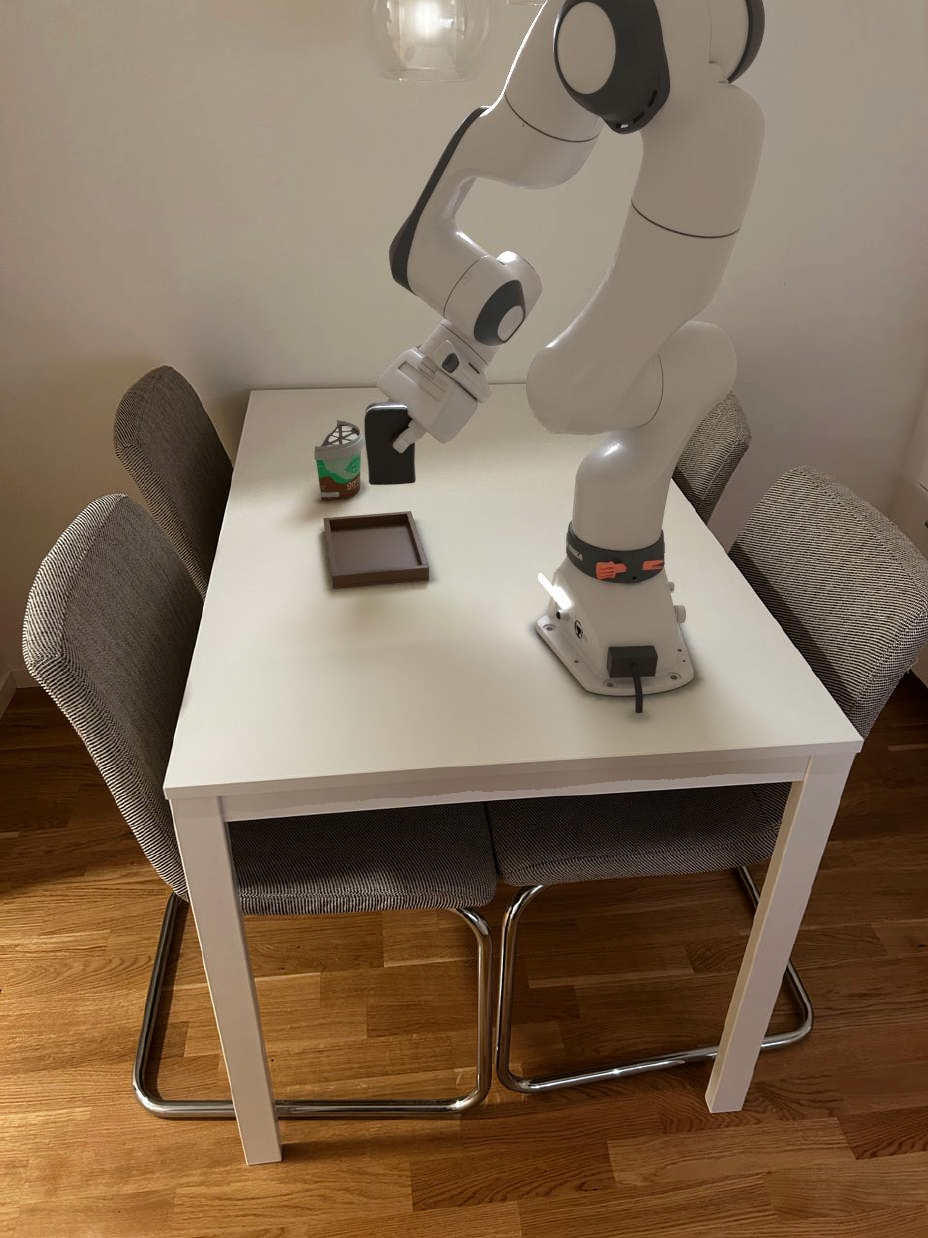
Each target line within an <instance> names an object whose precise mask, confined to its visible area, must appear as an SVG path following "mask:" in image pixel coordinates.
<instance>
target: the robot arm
mask: <svg viewBox="0 0 928 1238" xmlns="http://www.w3.org/2000/svg"><path fill="white" fill-rule="evenodd" d="M765 13H766V12H765V5H764V1H763V0H546V2H544V4H543V5H542V7H541V9H540V11H538V14H537V16H536V17H535V19H534V21H533V23H532V24H531V26H530V28H529V30H528V32H527V34H526V36H525V38H524V39H523V41H522V44H521V46H520V48H519V50H518V52H517V54H516V57H515V60H514V62H513V64H512V66H511V69H510V72H509V74H508V77H507V79H506V82H505V85H504V88H503V90H502V92H501V95H500V96H499V98H498V99H497V101H496V102H495V103H494V104H493V105H492V106H490V105H481V106H480V107H477V108H476V109H474V110H473V111H472V112H470V114H468V115H467V116H466V117H465V118H464V120H462V122H461V123H460V125H459V126H458V127H457V129H456V130H455V131H454V133H453V135H452V137H451V138H450V140H449V141H448V142H447V145H446V147H444V150H443V152H442V154H441V156H440V158H439V159H438V160H437V163H436V165H435V167H434V169H433V170H432V172H431V174H430V177H429V178H428V180H427V182H426V184H425V186H424V188H423V189H422V191H421V194H420V196H419V198H417V201H416V203H415V205H414V207H413V209H412V210H411V212H410V214H409V215H408V216H407V218H405V221H404V222H403V224H402V225H401V226H400V228H399V229H398V231H397V232H396V234H395V236H394V237H393V239H392V241H391V243H390V245H389V249H388V261H389V267H390V273H391V276H392V279H393V280H394V282H395V283H396V284H398V285H400V286H401V287H402V288H403V289H405V290H407V291H408V292H410V293H411V294H413V295H414V296H416V297H418V299H421V301H423V302H424V303H425V304H426V305H428V306H429V307H430V308H431V309H433V310H434V311H435V312H436V313H437V314H439V316H441V317H442V318H444V319H442V320H441V321H440V322H439V323H438V324H437V326H436V327H435V329H433V331H432V332H431V333H430V334H429V336H428V337H427V338H426V339H425V340H424V342H423V343H421V344H419V345H417V346H413V347H411V349H407V350H405V351H403V352H402V353H401V354H400V355H398V357H396V359H395V360H394V361H393V362H391V364H390V365H389V366H388V367H387V368H386V370H384V372H383V373H382V374H381V375H380V376H379V378H378V380H377V383H376V388H377V389H378V390H379V391H380V392H381V393H382V394H384V395H385V396H386V397H387V398H388V399H387V400H386V402H402V403H403V404H404V405H405V406H406V407H407V409H408V415H409V416H410V417H411V418H412V419H413V420H412V421H411V422H410V423H409V425H408V427H409V428H408V429H407V430H405V431H404V432H403V433H402V434H400V435H398V434H396V435H395V437H394V439H392V440H391V442H390V444H391V445H392V446H393V447H394V448H395V449H396V450H397V451H398V452H400V453H403V452H404V451H405V449H406V448H407V447H408V446H409V445H410V444H412V443H414V442H415V443H416V442H417V441H418V440H420V439H423V437H424V436H425V435H426V433H428V434H429V435H431V436H432V437H433V438H434V439H435V440H436V441H438V442H439V443H440V444H442V445H444V444H445V445H446V444H447V443H449V442H451V441H453V440H454V439H455V438H456V437H457V436H458V435H459V434H460V432H461V431H462V430H463V429H464V428H465V427H466V425H467V424H468V423H469V422H470V421H471V419H472V418H473V417H474V415H475V414H476V412H477V410H478V407H479V404H480V405H481V404H485V403H487V401H488V400H489V399H490V398H491V396H492V389H491V387H490V385H489V383H488V379H487V377H486V373H485V371H486V370H487V369H488V367H489V366H490V365H491V363H492V361H493V359H494V357H495V355H496V354H497V353H498V351H499V350H500V349H501V348H502V347H503V346H505V345H506V344H508V343H509V342H510V341H511V339H512V338H513V337H514V336H515V334H516V333H517V332H518V331H519V330H520V328H521V327H522V325H523V323H524V322H525V321H526V320H527V318H528V317H529V315H530V313H531V312H532V310H534V309H533V308H535V306H536V304H537V302H538V300H539V299H540V297H541V294H542V292H543V283H542V281H541V278H540V276H539V274H538V273H537V272H536V270H535V268H534V267H533V266H532V265H531V264H530V263H529V262H528V261H527V260H526V259H524V258H523V257H522V256H520V255H519V254H517V253H516V252H515V253H514V252H511V251H504V252H502V253H501V254H499V255H498V256H497V257H496V258H495V257H494V256H493V255H491V254H490V253H488V252H487V251H486V250H485V249H483V248H482V247H481V246H480V245H478V244H477V243H476V242H475V241H474V240H473V239H471V238H470V237H469V236H467V235H466V234H465V233H464V232H463V230H462V229H461V228H460V226H459V224H458V223H457V220H456V215H457V213H458V211H459V209H460V208H461V206H462V204H463V202H464V201H465V199H466V197H467V195H468V194H469V192H470V190H471V189H472V188H473V185H474V183H475V182H476V180H477V178H481V179H486V180H491V181H495V182H498V183H501V184H504V185H507V186H510V187H512V188H516V189H523V190H533V191H534V190H545V189H550V188H554V187H555V188H556V187H557V186H560V185H562V184H564V183H566V182H568V181H569V180H570V179H572V178H573V177H575V176H576V175H577V174H578V173H579V172H580V170H581V169H582V168H583V166H584V165H585V164H586V162H587V160H588V159H589V157H590V155H591V153H592V151H593V150H594V148H595V145H596V143H597V142H598V139H599V137H600V135H601V134H602V133H601V132H602V130H603V128H604V125H605V124H606V125H607V127H609V129H610V130H611V131H612V132H614V133H617V134H619V135H628V134H629V135H630V134H633V133H635V132H636V133H637V132H638V131H639V133H640V136H641V141H642V154H641V155H642V156H641V160H640V165H639V169H638V172H637V176H636V179H635V183H634V186H633V189H632V193H631V196H630V200H629V204H628V208H627V210H626V213H625V218H624V221H623V224H622V229H621V231H620V235H619V238H618V240H617V245H616V247H615V250H614V253H613V256H612V259H611V261H610V262H611V263H610V265H609V266H608V269H607V271H606V273H605V276H604V277H603V279H602V281H601V282H600V284H599V286H598V288H597V289H596V290H595V292H594V294H593V295H592V297H591V298H590V300H589V301H588V302H587V304H586V305H585V306H584V308H583V309H582V311H581V312H580V313H579V314H578V316H577V317H576V318H575V319H573V321H572V322H571V324H570V325H569V326H567V328H565V329H564V330H563V331H562V333H560V334H559V335H558V336H557V337H555V338H554V339H553V340H552V341H550V342H549V343H548V344H546V345H545V346H543V347H541V348H540V349H539V350H538V351H537V352H536V353H535V355H534V356H533V358H532V360H531V362H530V365H529V367H528V371H527V375H526V378H525V379H526V380H525V394H526V399H527V404H528V407H529V409H530V411H531V413H532V415H533V417H534V419H535V420H536V421H537V422H538V424H539V425H540V426H541V427H542V428H543V429H544V430H546V431H547V432H548V433H550V434H553V435H562V436H585V437H586V436H590V437H591V436H597V435H602V434H606V433H607V434H606V435H605V437H604V438H603V439H602V441H600V443H598V445H597V446H596V447H594V448H592V450H591V451H589V452H588V453H587V455H585V456H584V458H583V459H582V460H581V462H580V463H579V465H578V468H577V469H576V473H575V478H574V479H575V480H574V491H573V501H572V502H573V504H572V505H573V506H572V515H571V517H572V518H571V520H570V522H569V523H568V527H567V532H566V537H565V543H566V544H565V545H566V546H565V553H566V556H565V558H564V560H563V561H562V562H561V564H560V565H559V566H558V567H557V568H556V569H555V571H554V572H553V575H552V580H551V583H550V582H549V581H548V579H547V578H546V577H545V576H544V575H543V574H542V573H538V581H539V582H540V583H541V584H542V585H543V587H544V588H545V590H547V591H548V593H549V594H550V596H549V603H548V610H547V614H545V615H544V616H542V617H541V618H539V619H538V620H537V622H536V626H535V630H536V632H537V633H538V635H539V636H540V637H541V638H542V639H543V641H544V642H545V643H546V644H547V645H548V646H549V648H550V649H551V651H552V652H553V653H554V654H555V655H556V656H557V658H558V659H559V660H560V662H562V663H563V665H564V666H565V667H566V668H567V670H568V671H569V672H570V673H571V674H572V676H573V677H574V678H575V679H576V680H577V682H578V683H579V684H580V685H581V687H582V688H583V689H584V690H586V691H587V692H589V693H593V694H599V695H603V696H604V695H605V696H616V697H624V696H626V697H627V696H629V697H630V696H635V697H634V698H635V701H634V702H635V703H634V704H635V705H634V706H635V707H634V709H635V710H634V712H635V714H643V713H644V695H649V694H658V693H662V692H667V691H671V690H675V689H677V688H680V687H683V686H685V685H687V684H688V683H690V682H691V681H693V680H694V673H695V671H694V668H693V664H692V662H691V659H690V656H689V653H688V650H687V649H688V648H687V646H686V643H685V640H684V638H683V637H684V636H683V634H682V631H681V628H680V625H679V624H681V625H682V624H685V622H686V618H687V611H686V606H685V605H683V604H674V602H673V597H672V593H674V592H675V582H674V581H669V579H668V576H667V572H666V568H665V564H666V562H665V554H666V542H665V533H664V529H663V523H664V518H665V511H666V506H667V499H668V494H669V490H670V484H671V481H672V478H673V474H674V472H675V469H676V467H677V464H678V463H679V460H680V458H681V456H682V454H683V452H684V451H685V449H686V446H687V444H688V443H689V441H690V440H691V438H692V436H693V435H694V433H695V432H696V430H697V429H698V427H699V426H700V424H701V423H702V422H703V421H704V419H705V418H706V417H707V416H708V415H709V413H711V412H712V411H713V410H714V408H716V407H717V406H718V405H720V403H722V402H723V401H724V400H725V399H726V398H727V397H728V396H729V394H730V392H731V391H732V388H733V387H734V384H735V381H736V375H737V370H738V369H737V368H738V365H737V362H738V361H737V360H738V359H737V354H736V350H735V347H734V345H733V342H732V341H731V338H730V337H729V335H728V334H727V332H726V331H725V330H724V329H722V327H720V326H719V325H717V324H715V323H712V322H706V321H698V320H692V319H694V318H695V317H697V316H698V315H699V314H701V312H703V311H704V310H705V309H706V308H707V307H708V306H709V304H710V303H711V302H712V301H713V299H714V298H715V296H716V294H717V292H718V290H719V288H720V284H721V282H722V279H723V277H724V274H725V272H726V268H727V266H728V263H729V260H730V258H731V255H732V252H733V250H734V246H735V243H736V242H737V239H738V235H739V233H740V231H741V228H742V225H743V222H744V219H745V217H746V214H747V211H748V207H749V206H750V205H749V204H750V201H751V199H752V198H751V197H752V194H753V191H754V186H755V184H756V179H757V176H758V172H759V166H760V161H761V156H762V151H763V145H764V140H765V133H766V122H765V117H764V116H765V115H764V112H763V110H762V108H761V106H760V105H759V103H758V102H757V101H756V99H755V98H754V97H753V96H752V95H751V94H750V93H748V92H747V91H745V90H744V89H743V88H741V87H739V86H737V85H735V84H733V83H734V82H735V81H736V80H738V79H739V78H740V77H741V76H743V75H744V73H745V72H746V71H747V70H749V68H750V67H751V65H752V64H753V63H754V62H755V59H756V57H757V56H758V53H759V51H760V48H761V46H762V42H763V40H764V35H765V28H766V27H765V26H766V14H765ZM622 126H624V127H622Z"/></svg>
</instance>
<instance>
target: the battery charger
mask: <svg viewBox="0 0 928 1238" xmlns="http://www.w3.org/2000/svg"><path fill="white" fill-rule="evenodd" d="M412 420H413V419H412V418H411V417H410V416H409V415H408V409H407V407H406V406H405V405H404V404H403V403H402V402H387V401H384V402H383V401H382V402H374V403H371V404H369V405H368V406H367V407H366V408H365V412H364V416H363V432H364V435H363V436H364V441H365V445H364V447H365V455H366V462H367V474H368V483H369V485H371V486H393V485H394V486H395V485H408V484H409V485H410V484H415V483H416V481H417V477H416V441H415V442H414V443H412V444H410V445H409V446H408V447H407V448H406V449H405V451H404V452H403V453H400V452H398V451H397V450H396V449H395V448H394V447H393V446H392V445H391V444H390V442H391V440H392V439H394V437H395V435H396V434H398V435H400V434H402V433H403V432H404V431H405V430H407V429H408V428H409V427H408V425H409V423H410V422H411V421H412Z"/></svg>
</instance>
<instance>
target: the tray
mask: <svg viewBox="0 0 928 1238" xmlns="http://www.w3.org/2000/svg"><path fill="white" fill-rule="evenodd" d="M323 530H324V536H325V544H326V550H327V558H328V563H329V571H330V572H329V573H330V577H331V585H332V589H333V590H335V589H337V590H338V589H347V588H357V587H358V588H359V587H367V586H369V587H370V586H378V585H387V584H388V585H390V584H399V583H408V582H409V583H412V582H423V581H429V580H430V567H429V563H428V560H427V558H426V553H425V551H424V547H423V543H422V541H421V538H420V534H419V532H418V528H417V525H416V522H415V520H414V516H413V513H412V511H411V510H410V511H409V510H407V511H393V512H382V513H369V514H357V515H345V516H344V515H343V516H335V517H333V516H332V517H331V516H330V517H323Z"/></svg>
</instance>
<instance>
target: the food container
mask: <svg viewBox="0 0 928 1238" xmlns="http://www.w3.org/2000/svg"><path fill="white" fill-rule="evenodd" d="M364 447H365V437H364V435H363V432H362V431H361V428H360V427H359V426H358V425H357V424H355V423H353V422H351V421H347V420H342V419H336V426H335V428H334V429H333V430H332V431H331V432H330V433H328V434H327V435H326V437H325V439H324V440H323V442H322V443H321V445H320V446H318V445H314V460H315V461H316V468H317V469H316V470H317V476H318V477H317V478H318V485H319V492H320V493H319V494H320V500H321V501H320V502H339V501H344V500H348V499H350V498H352V497H355V496H356V495H358V493H359V492H360V491H361V468H362V467H361V464H362V462H361V460H362V459H361V458H362V450H363V449H364Z"/></svg>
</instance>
